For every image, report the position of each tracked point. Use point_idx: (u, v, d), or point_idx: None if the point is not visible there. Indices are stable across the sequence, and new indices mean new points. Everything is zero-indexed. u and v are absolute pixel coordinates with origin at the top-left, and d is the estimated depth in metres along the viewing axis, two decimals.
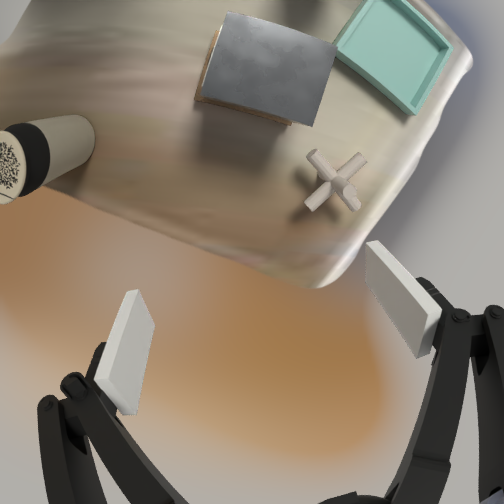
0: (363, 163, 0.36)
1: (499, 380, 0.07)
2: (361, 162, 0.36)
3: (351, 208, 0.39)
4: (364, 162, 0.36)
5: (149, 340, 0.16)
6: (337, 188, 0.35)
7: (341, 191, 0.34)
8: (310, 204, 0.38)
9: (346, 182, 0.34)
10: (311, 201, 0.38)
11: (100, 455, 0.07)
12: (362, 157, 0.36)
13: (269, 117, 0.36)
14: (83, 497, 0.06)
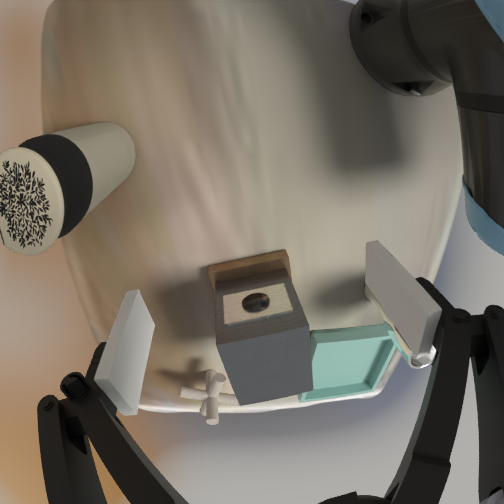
0: (237, 405, 0.44)
1: (499, 380, 0.07)
2: (237, 404, 0.44)
3: (202, 412, 0.45)
4: (239, 405, 0.44)
5: (149, 340, 0.16)
6: (208, 409, 0.40)
7: (208, 416, 0.39)
8: (183, 394, 0.42)
9: (216, 414, 0.40)
10: (185, 393, 0.42)
11: (100, 455, 0.07)
12: None
13: None
14: (83, 497, 0.06)
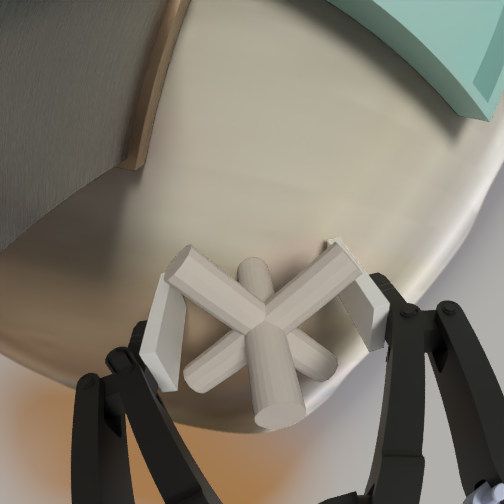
0: (349, 281, 0.12)
1: (463, 377, 0.08)
2: (344, 280, 0.12)
3: (310, 377, 0.15)
4: (353, 278, 0.12)
5: (183, 320, 0.17)
6: (250, 382, 0.11)
7: (253, 410, 0.10)
8: (195, 383, 0.14)
9: (273, 382, 0.10)
10: (197, 377, 0.14)
11: (135, 433, 0.08)
12: (347, 265, 0.12)
13: None
14: (109, 482, 0.07)
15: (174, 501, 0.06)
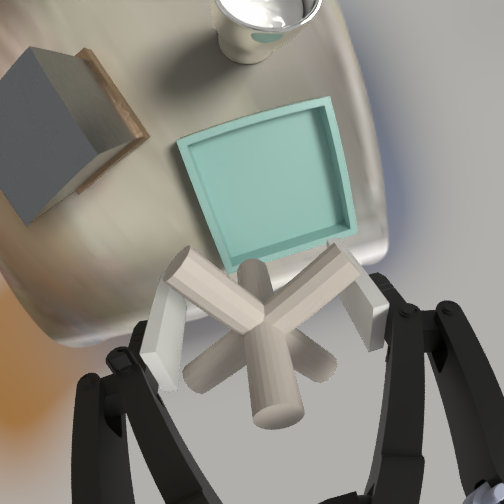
0: (348, 282, 0.12)
1: (463, 377, 0.08)
2: (343, 281, 0.12)
3: (309, 377, 0.15)
4: (352, 279, 0.12)
5: (183, 320, 0.17)
6: (249, 383, 0.11)
7: (252, 410, 0.10)
8: (194, 383, 0.14)
9: (272, 383, 0.10)
10: (196, 378, 0.14)
11: (135, 433, 0.08)
12: (346, 266, 0.12)
13: None
14: (109, 482, 0.07)
15: (174, 501, 0.06)
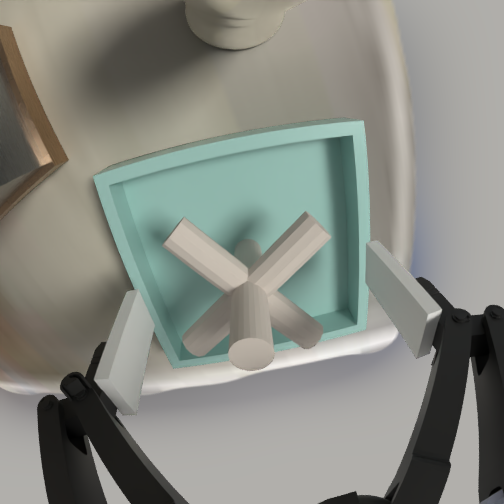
0: (318, 243, 0.14)
1: (499, 380, 0.07)
2: (313, 241, 0.14)
3: (298, 343, 0.17)
4: (321, 240, 0.14)
5: (149, 340, 0.16)
6: None
7: None
8: (191, 345, 0.16)
9: (245, 323, 0.12)
10: (193, 339, 0.16)
11: (100, 455, 0.07)
12: (314, 227, 0.14)
13: None
14: (83, 497, 0.06)
15: None
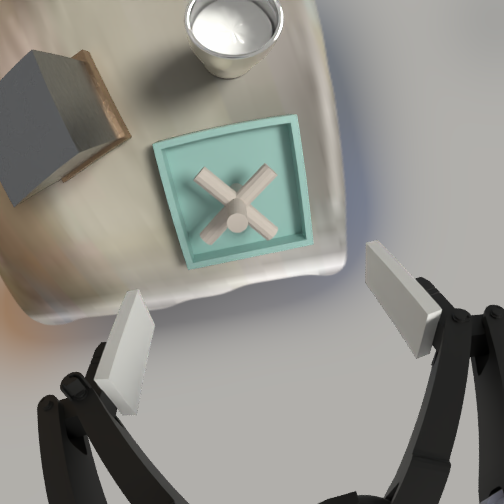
0: (270, 177, 0.29)
1: (499, 380, 0.07)
2: (267, 176, 0.28)
3: (264, 236, 0.32)
4: (272, 176, 0.28)
5: (149, 340, 0.16)
6: None
7: None
8: (205, 237, 0.31)
9: (234, 209, 0.27)
10: (206, 233, 0.31)
11: (100, 455, 0.07)
12: (267, 170, 0.28)
13: None
14: (83, 497, 0.06)
15: None
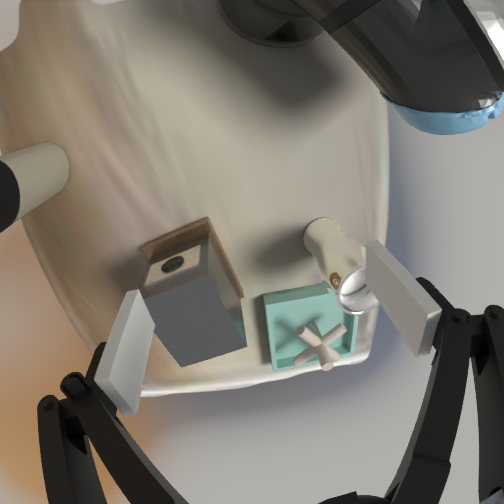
0: (343, 333, 0.45)
1: (499, 380, 0.07)
2: (342, 332, 0.45)
3: (331, 359, 0.48)
4: (344, 332, 0.45)
5: (149, 340, 0.16)
6: None
7: (321, 365, 0.42)
8: (297, 363, 0.47)
9: (326, 358, 0.42)
10: (298, 361, 0.47)
11: (100, 455, 0.07)
12: (343, 329, 0.44)
13: None
14: (83, 497, 0.06)
15: None
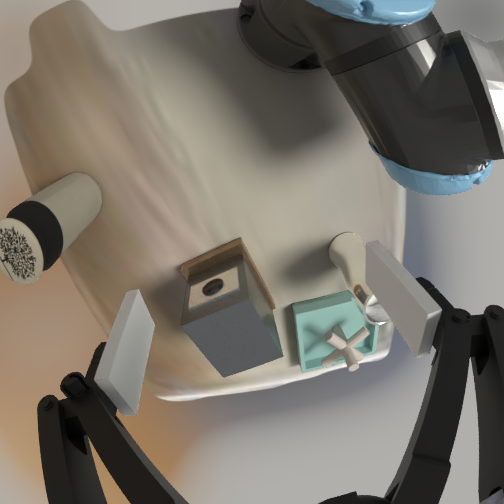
0: (367, 335, 0.48)
1: (499, 380, 0.07)
2: (365, 336, 0.48)
3: (355, 359, 0.51)
4: (367, 335, 0.48)
5: (149, 340, 0.16)
6: (345, 361, 0.47)
7: (348, 367, 0.46)
8: (325, 365, 0.50)
9: (352, 360, 0.46)
10: (326, 363, 0.50)
11: (100, 455, 0.07)
12: (366, 332, 0.47)
13: None
14: (83, 497, 0.06)
15: None
